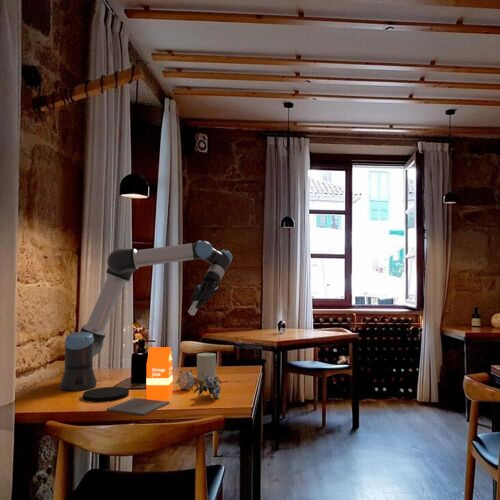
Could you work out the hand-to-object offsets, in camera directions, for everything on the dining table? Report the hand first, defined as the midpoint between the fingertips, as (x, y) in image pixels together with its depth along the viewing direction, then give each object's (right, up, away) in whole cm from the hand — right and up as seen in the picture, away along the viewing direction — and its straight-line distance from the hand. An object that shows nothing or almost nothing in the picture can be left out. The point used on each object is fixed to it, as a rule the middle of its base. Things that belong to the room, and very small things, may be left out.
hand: (191, 313), depth 198 cm
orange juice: (-10, -31, -21) cm, 39 cm away
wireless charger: (-32, -32, -17) cm, 48 cm away
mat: (-15, -30, -33) cm, 47 cm away
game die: (-1, -32, -7) cm, 33 cm away
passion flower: (+9, -31, -21) cm, 39 cm away
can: (+5, -33, +14) cm, 36 cm away
